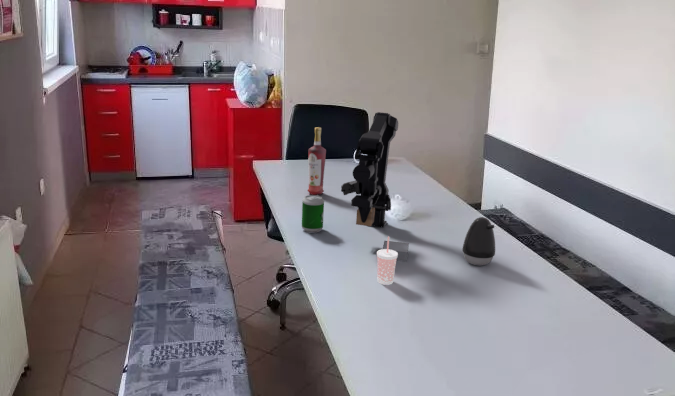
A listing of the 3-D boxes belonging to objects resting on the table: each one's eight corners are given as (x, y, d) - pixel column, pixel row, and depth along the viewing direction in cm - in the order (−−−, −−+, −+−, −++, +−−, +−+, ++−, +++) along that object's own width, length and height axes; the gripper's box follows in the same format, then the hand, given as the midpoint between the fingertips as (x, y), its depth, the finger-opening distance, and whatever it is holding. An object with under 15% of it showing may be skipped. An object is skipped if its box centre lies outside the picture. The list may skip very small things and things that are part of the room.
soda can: (320, 234, 219) (321, 201, 215) (299, 232, 220) (300, 199, 216) (324, 227, 226) (326, 195, 222) (304, 225, 227) (305, 193, 223)
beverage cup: (389, 287, 180) (393, 242, 176) (370, 282, 183) (374, 237, 179) (399, 280, 185) (403, 236, 181) (380, 275, 188) (384, 231, 184)
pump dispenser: (475, 271, 195) (481, 224, 190) (454, 258, 203) (459, 214, 199) (500, 266, 199) (506, 221, 195) (479, 254, 208) (484, 210, 203)
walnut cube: (359, 219, 214) (360, 205, 212) (374, 221, 213) (374, 207, 211) (356, 224, 209) (356, 210, 208) (370, 226, 208) (371, 212, 207)
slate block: (383, 250, 208) (384, 240, 207) (408, 252, 207) (408, 243, 206) (381, 259, 201) (382, 249, 200) (406, 262, 200) (407, 252, 199)
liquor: (327, 193, 266) (330, 127, 257) (317, 197, 260) (320, 130, 251) (313, 190, 269) (315, 125, 261) (303, 194, 263) (305, 127, 255)
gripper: (351, 165, 217) (348, 208, 221) (336, 179, 199) (334, 225, 204) (383, 169, 214) (380, 213, 219) (371, 183, 197) (368, 230, 201)
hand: (365, 220), depth 211 cm, fingers closed on walnut cube, 5 cm apart
